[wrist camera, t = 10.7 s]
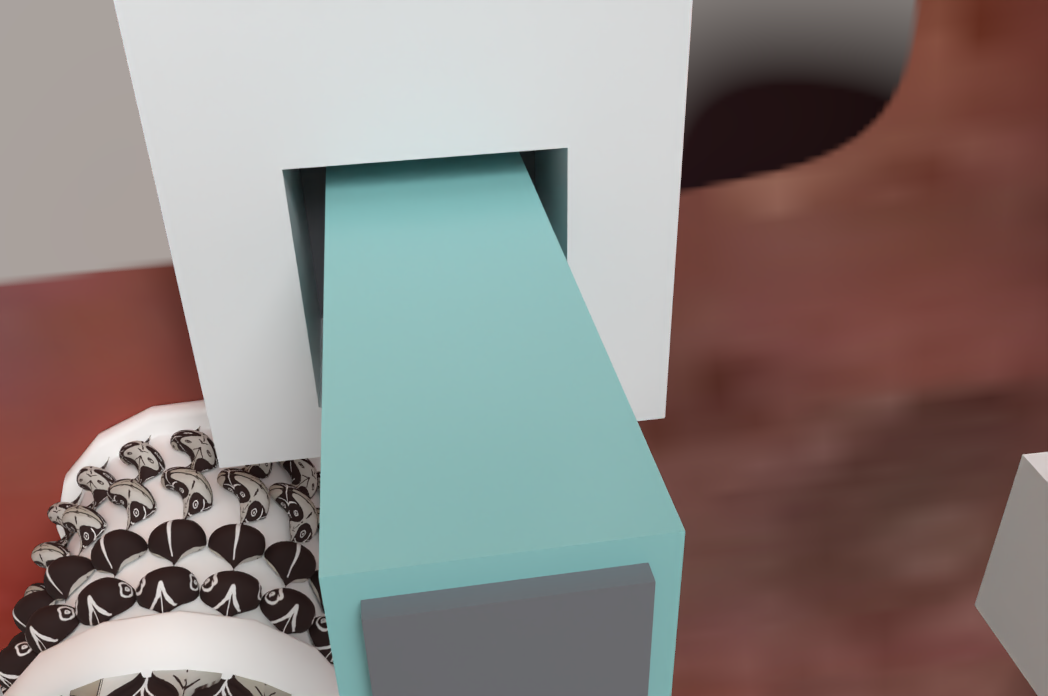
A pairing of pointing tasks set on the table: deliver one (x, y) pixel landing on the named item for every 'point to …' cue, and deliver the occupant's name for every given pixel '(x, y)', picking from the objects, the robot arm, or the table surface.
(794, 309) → the table surface
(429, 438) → the plug
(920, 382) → the table surface
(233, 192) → the white slotted block
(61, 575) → the decorative candle
